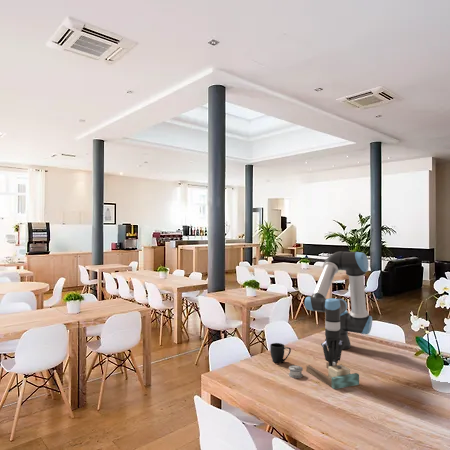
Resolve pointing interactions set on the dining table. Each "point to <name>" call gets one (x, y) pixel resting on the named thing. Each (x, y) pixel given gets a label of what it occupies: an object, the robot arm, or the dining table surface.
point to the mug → (278, 352)
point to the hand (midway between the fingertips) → (332, 374)
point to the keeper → (337, 370)
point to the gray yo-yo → (295, 371)
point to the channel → (334, 378)
